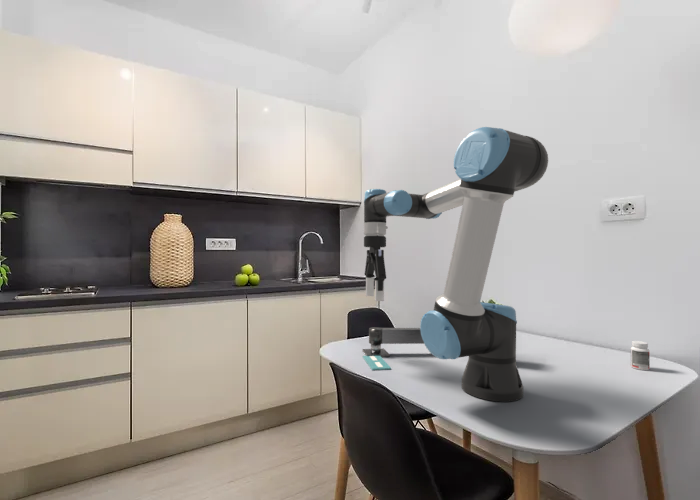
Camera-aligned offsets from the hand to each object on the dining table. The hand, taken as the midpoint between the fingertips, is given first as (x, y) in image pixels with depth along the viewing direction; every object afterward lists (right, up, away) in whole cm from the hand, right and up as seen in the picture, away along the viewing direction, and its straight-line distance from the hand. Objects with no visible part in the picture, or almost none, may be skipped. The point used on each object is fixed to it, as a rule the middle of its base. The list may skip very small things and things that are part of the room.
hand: (374, 298), depth 122 cm
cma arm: (+10, -17, +8) cm, 21 cm away
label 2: (+1, -21, -7) cm, 22 cm away
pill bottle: (+85, -22, -6) cm, 88 cm away
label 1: (0, -21, 0) cm, 21 cm away
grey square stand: (+1, -21, +7) cm, 22 cm away
